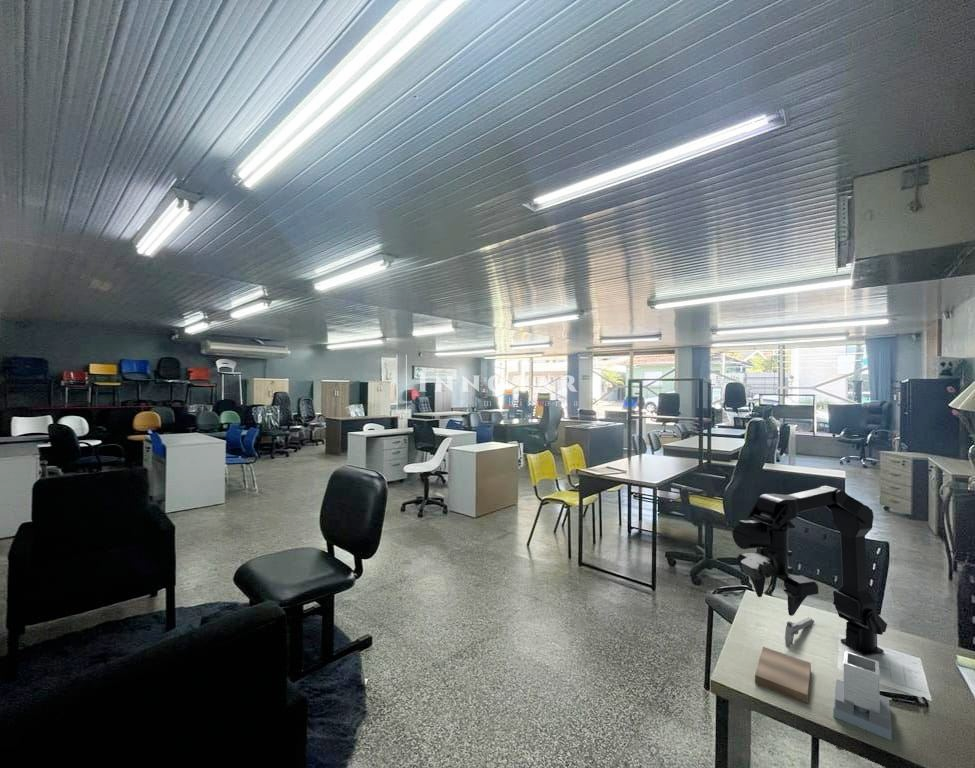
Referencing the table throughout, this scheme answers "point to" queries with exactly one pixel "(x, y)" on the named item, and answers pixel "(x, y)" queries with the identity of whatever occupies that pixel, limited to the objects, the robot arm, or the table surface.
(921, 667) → the table surface
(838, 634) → the table surface
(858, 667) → the steel sleeve
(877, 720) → the vise
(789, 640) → the caliper
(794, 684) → the walnut board
